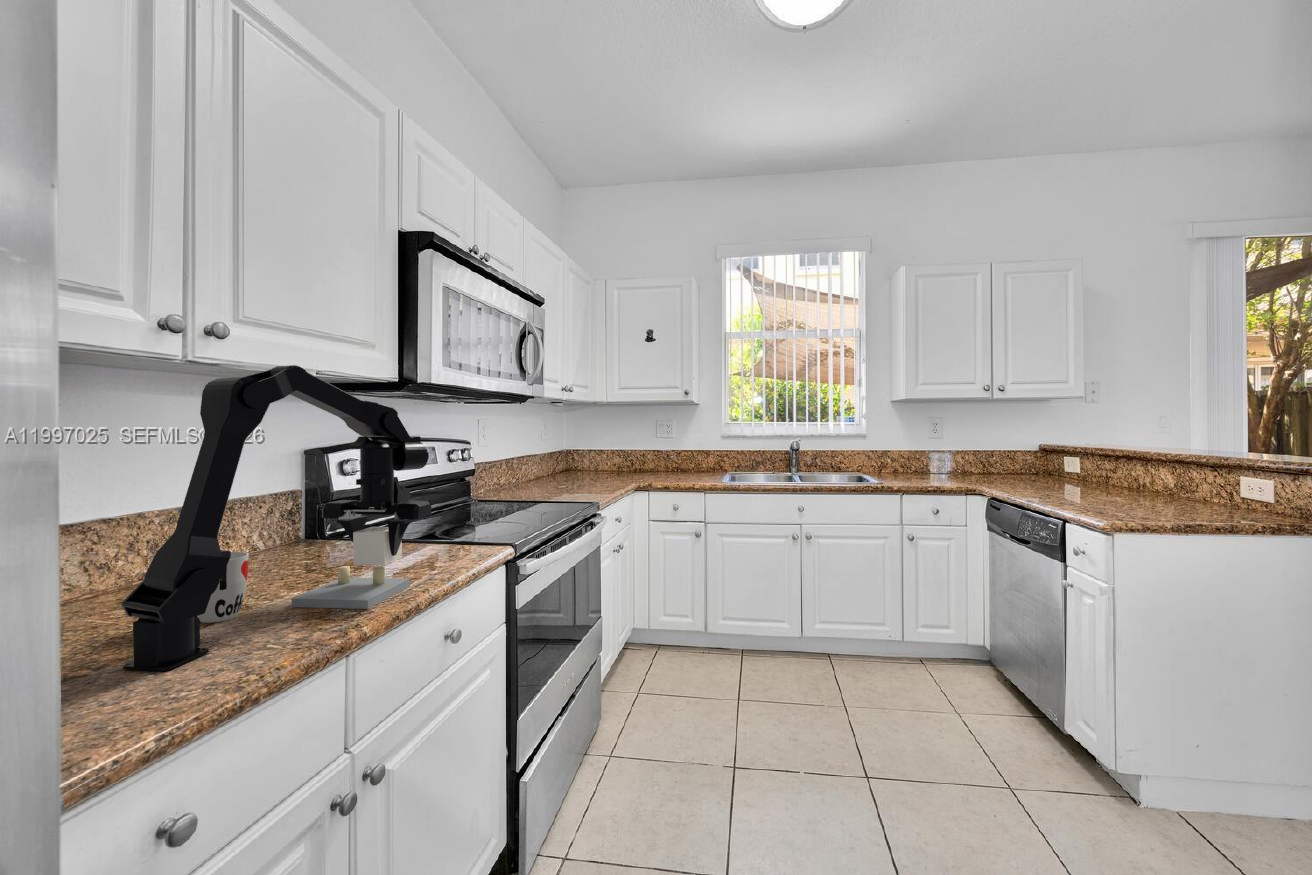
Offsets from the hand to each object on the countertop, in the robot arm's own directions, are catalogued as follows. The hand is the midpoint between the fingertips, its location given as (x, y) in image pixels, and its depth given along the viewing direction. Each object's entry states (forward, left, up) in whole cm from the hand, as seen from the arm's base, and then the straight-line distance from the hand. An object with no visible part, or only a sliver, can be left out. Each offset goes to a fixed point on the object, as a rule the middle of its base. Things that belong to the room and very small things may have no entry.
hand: (378, 554), depth 108 cm
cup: (-16, +18, -7) cm, 25 cm away
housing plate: (-3, +3, -7) cm, 8 cm away
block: (0, 0, -1) cm, 1 cm away
